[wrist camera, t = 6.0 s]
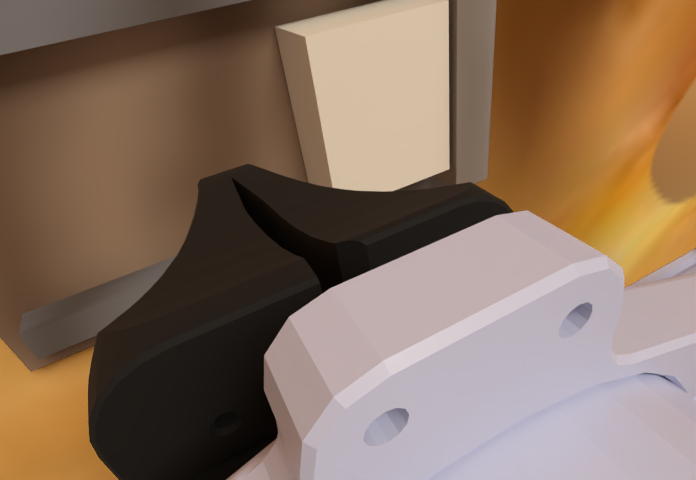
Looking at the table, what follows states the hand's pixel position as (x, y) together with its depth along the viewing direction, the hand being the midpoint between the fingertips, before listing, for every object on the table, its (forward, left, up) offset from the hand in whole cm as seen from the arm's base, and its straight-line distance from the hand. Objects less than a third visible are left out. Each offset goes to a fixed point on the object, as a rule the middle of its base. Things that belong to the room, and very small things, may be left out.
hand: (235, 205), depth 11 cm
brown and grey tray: (-1, 0, -6) cm, 6 cm away
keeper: (-6, 0, -6) cm, 9 cm away
